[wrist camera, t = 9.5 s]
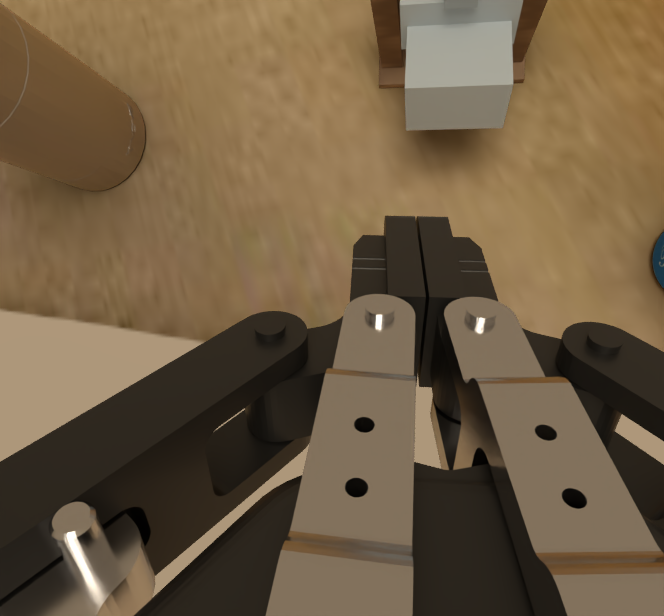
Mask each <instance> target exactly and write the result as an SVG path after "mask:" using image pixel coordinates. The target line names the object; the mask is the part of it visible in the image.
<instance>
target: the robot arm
mask: <svg viewBox="0 0 664 616" xmlns="http://www.w3.org/2000/svg"><path fill="white" fill-rule="evenodd" d="M144 145H145V125H144V122H143V118H142V115H141V113H140V111H139V109H138V107H137V105H136V104H135V103H134V102H133V101H132V99H131V98H130V97H129V96H127V95H126V94H125V93H123V92H122V91H121V90H119V89H118V88H117V87H115V86H114V85H112V84H111V83H110V82H108V81H107V80H106V79H104V78H103V77H102V76H100V75H99V74H98V73H96V72H95V71H94V70H92V69H91V68H90V67H88V66H87V65H85V64H84V63H83V62H81V61H80V60H78V59H77V58H76V57H74V56H73V55H72V54H70V53H69V52H67V51H66V50H65V49H63V48H62V47H60V46H59V45H58V44H56V43H55V42H54V41H52V40H51V39H49V38H48V37H47V36H45V35H44V34H42V33H41V32H40V31H38V30H37V29H36V28H34V27H33V26H31V25H30V24H29V23H27V22H26V21H24V20H23V19H22V18H20V17H19V16H18V15H16V14H15V13H13V12H12V11H11V10H9V9H8V8H6V7H5V6H4V5H2V4H1V3H0V161H3V162H6V163H9V164H12V165H15V166H17V167H20V168H23V169H26V170H29V171H32V172H34V173H37V174H40V175H43V176H46V177H48V178H51V179H54V180H57V181H59V182H62V183H65V184H68V185H71V186H74V187H77V188H80V189H84V190H88V191H101V190H105V189H110V188H112V187H114V186H116V185H118V184H120V183H121V182H122V181H124V180H125V179H126V178H127V177H128V176H129V175H130V174H131V173H132V172H133V171H134V169H135V168H136V166H137V164H138V163H139V161H140V159H141V156H142V153H143V150H144ZM417 374H418V378H419V386H420V387H432V392H433V399H432V407H431V413H430V414H431V421H432V425H433V430H434V434H435V439H436V444H437V449H438V453H439V458H440V463H441V467H442V469H439V468H435V467H431V466H427V465H423V464H420V463H416V462H414V441H415V440H414V439H415V396H416V383H417ZM244 408H245V410H244V411H242V412H241V413H240V414H238V415H237V416H236V417H234V418H233V419H231V420H230V421H229V422H227V423H226V424H224V425H223V426H222V427H220V428H219V429H218V430H216V431H215V432H214V430H215V429H216V428H218V427H219V426H220V425H221V424H223V423H224V422H226V421H227V420H228V419H230V418H231V417H233V416H234V415H235V414H237V413H238V412H240V411H241V410H242V409H244ZM622 414H623V415H625V416H626V417H627V418H629V419H630V420H632V421H634V422H635V423H637V424H639V425H640V426H641V427H643V428H644V429H646V430H647V431H649V432H650V433H652V434H653V435H655V436H657V437H658V438H660V439H661V440H663V441H664V352H662V351H661V350H659V349H657V348H655V347H653V346H651V345H649V344H648V343H646V342H644V341H642V340H640V339H638V338H636V337H635V336H633V335H631V334H629V333H627V332H625V331H623V330H621V329H619V328H616V327H614V326H611V325H607V324H603V323H596V322H582V323H577V324H573V325H571V326H569V327H568V328H566V330H565V331H564V333H563V335H562V339H558V338H553V337H549V336H545V335H541V334H537V333H533V332H530V331H527V330H525V329H523V328H521V325H520V323H519V321H518V319H517V317H516V315H515V314H514V312H513V311H512V310H511V309H510V308H508V307H507V306H505V305H504V304H502V303H500V302H498V299H497V296H496V293H495V290H494V286H493V283H492V280H491V277H490V274H489V273H488V268H487V265H486V263H485V259H484V256H483V253H482V249H481V248H480V247H479V246H478V245H477V244H476V243H475V242H473V241H472V240H471V239H470V238H469V237H453V236H452V232H451V228H450V224H449V220H448V217H421V216H417V218H416V219H415V216H385V222H384V236H379V235H363V236H362V237H361V238H360V239H359V240H358V241H357V242H356V243H355V244H354V248H353V263H352V278H351V293H350V303H349V304H348V305H347V307H346V308H345V311H344V316H343V317H342V318H340V319H339V320H337V321H335V322H333V323H331V324H328V325H325V326H321V327H316V328H311V329H307V327H306V325H305V323H304V322H303V321H302V320H301V319H300V318H299V317H297V316H295V315H293V314H290V313H286V312H281V311H268V312H261V313H257V314H254V315H252V316H249V317H247V318H246V319H244V320H242V321H240V322H239V323H237V324H235V325H234V326H232V327H230V328H228V329H227V330H225V331H223V332H222V333H220V334H218V335H216V336H215V337H213V338H211V339H210V340H208V341H206V342H205V343H203V344H201V345H199V346H198V347H196V348H194V349H193V350H191V351H189V352H187V353H186V354H184V355H182V356H181V357H179V358H177V359H175V360H174V361H172V362H170V363H169V364H167V365H165V366H163V367H162V368H160V369H158V370H157V371H155V372H153V373H151V374H150V375H148V376H146V377H145V378H143V379H141V380H140V381H138V382H136V383H134V384H133V385H131V386H129V387H128V388H126V389H124V390H122V391H121V392H119V393H117V394H116V395H114V396H112V397H111V398H109V399H107V400H105V401H104V402H102V403H100V404H98V405H97V406H95V407H93V408H92V409H90V410H88V411H87V412H85V413H83V414H81V415H80V416H78V417H76V418H74V419H73V420H71V421H69V422H68V423H66V424H65V425H63V426H61V427H59V428H57V429H56V430H54V431H52V432H51V433H49V434H47V435H45V436H44V437H42V438H40V439H39V440H37V441H35V442H33V443H32V444H30V445H28V446H27V447H25V448H23V449H21V450H20V451H18V452H16V453H15V454H13V455H11V456H9V457H8V458H6V459H4V460H3V461H1V462H0V616H664V465H663V464H661V463H660V462H659V461H657V460H656V459H654V458H653V457H651V456H650V455H649V454H647V453H646V452H644V451H643V450H641V449H640V448H638V447H637V446H635V445H634V444H632V443H631V442H630V441H628V440H627V439H625V438H624V437H622V436H621V435H619V434H618V433H616V432H615V429H616V426H617V424H618V422H619V419H620V417H621V415H622ZM309 442H310V444H309ZM308 444H309V449H308V453H307V458H306V462H305V466H304V471H303V475H301V476H299V477H296V478H294V479H292V480H289V481H287V482H285V483H283V484H281V485H280V486H278V487H276V488H274V489H273V490H271V491H270V492H269V493H267V494H266V495H264V496H263V497H262V498H261V499H260V500H258V502H256V503H255V504H254V505H253V506H252V507H251V508H250V509H249V510H247V511H246V512H245V513H244V514H243V515H242V516H241V517H240V518H239V519H238V520H237V521H235V522H234V523H233V524H232V525H231V526H230V527H229V528H228V529H227V530H226V531H225V532H224V533H223V534H222V535H220V536H219V537H218V538H217V539H216V540H215V541H214V542H213V543H212V544H211V545H209V546H208V547H207V548H206V549H205V550H204V551H203V552H202V553H201V554H200V555H199V556H198V557H197V558H195V559H194V560H193V561H192V562H191V563H190V564H189V565H188V566H187V567H186V568H185V569H184V570H182V571H181V572H180V573H179V574H178V575H177V576H176V577H175V578H174V579H173V580H172V581H171V582H170V583H168V584H167V585H166V586H165V587H164V588H163V589H162V590H161V591H160V592H159V593H158V594H156V595H155V596H154V597H153V598H152V596H153V593H154V587H155V575H157V574H158V573H159V572H160V571H161V570H162V569H164V568H165V567H166V566H167V565H168V564H170V563H171V562H172V561H173V560H174V559H176V558H177V557H178V556H179V555H180V554H181V553H183V552H184V551H185V550H186V549H187V548H189V547H190V546H191V545H192V544H193V543H194V542H196V541H197V540H198V539H199V538H200V537H202V536H203V535H204V534H205V533H206V532H207V531H209V530H210V529H211V528H212V527H213V526H215V525H216V524H217V523H218V522H219V521H220V520H222V519H223V518H224V517H225V516H226V515H228V514H229V513H230V512H231V511H232V510H233V509H235V508H236V507H237V506H238V505H239V504H241V503H242V502H243V501H244V500H245V499H246V498H248V497H249V496H250V495H251V494H252V493H253V492H255V491H256V490H257V489H258V488H259V487H260V486H262V485H263V484H264V483H265V482H266V481H268V480H269V479H270V478H271V477H272V476H274V475H275V474H276V473H277V472H278V471H279V470H281V469H282V468H283V467H284V466H285V465H286V464H288V463H289V462H290V461H291V460H292V459H294V458H295V457H296V456H297V455H298V454H299V453H301V452H302V451H303V450H304V449H305V448H306V447H307V445H308Z"/></svg>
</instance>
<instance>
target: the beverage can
mask: <svg viewBox="0 0 664 616" xmlns="http://www.w3.org/2000/svg"><path fill="white" fill-rule="evenodd" d="M653 269H654V273H655V275H656V278H657V280H658V282H659V283H660V285H661V286H662V287H663V288H664V232H663V233H662V235H661V236H660V237H659V239H658V241H657V243H656V245H655V248H654V252H653Z"/></svg>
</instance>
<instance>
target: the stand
mask: <svg viewBox="0 0 664 616" xmlns="http://www.w3.org/2000/svg"><path fill="white" fill-rule="evenodd" d="M546 3H547V0H523V4H522V9H521V13H520V18H519V22H518V27H517V31H516V36H515V40H514V44H512V52H513V83H522V82H523V81H524V76H525V54H526V52H527V49H528V47H529V44H530V42H531V39H532V37H533V34H534V32H535V30H536V27H537V25H538V22H539V20H540V17H541V15H542V12H543V10H544V8H545V5H546ZM371 6H372V12H373V18H374V24H375V30H376V36H377V42H378V48H379V54H380V64H379V88H391V87H405V70H406V49H401V25H400V0H371Z"/></svg>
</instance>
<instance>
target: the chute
mask: <svg viewBox="0 0 664 616" xmlns="http://www.w3.org/2000/svg"><path fill="white" fill-rule="evenodd" d="M522 4H523V0H400V25H401V49H406V70H405V113H406V130H443V129H483V128H503V125H504V121H505V117H506V113H507V108H508V104H509V100H510V96H511V92H512V88H513V52H512V44H514V40H515V36H516V31H517V27H518V22H519V18H520V13H521V9H522Z"/></svg>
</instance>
